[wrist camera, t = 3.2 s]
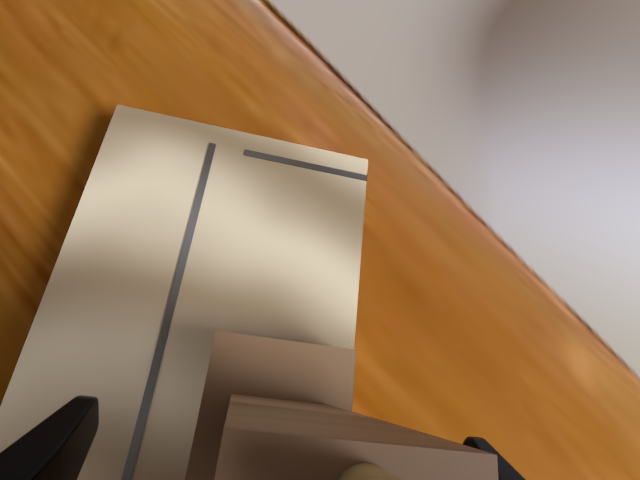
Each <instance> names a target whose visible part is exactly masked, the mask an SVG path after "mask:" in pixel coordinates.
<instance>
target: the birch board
mask: <svg viewBox="0 0 640 480" xmlns="http://www.w3.org/2000/svg"><path fill="white" fill-rule="evenodd" d="M367 168H368V160H367V159H363V158H358V157H354V156H349V155H345V154H340V153H336V152H331V151H327V150H322V149H317V148H313V147H308V146H304V145H299V144H295V143H290V142H286V141H281V140H277V139H272V138H268V137H263V136H259V135H254V134H249V133H245V132H240V131H236V130H231V129H227V128H222V127H218V126H213V125H209V124H204V123H200V122H195V121H191V120H186V119H182V118H177V117H172V116H168V115H163V114H159V113H154V112H150V111H145V110H141V109H136V108H132V107H127V106H123V105H118V104H117V106H116V109H115V111H114V114H113V116H112V119H111V122H110V124H109V127H108V129H107V132H106V135H105V137H104V140H103V142H102V145H101V147H100V150H99V153H98V155H97V158H96V160H95V163H94V166H93V168H92V171H91V173H90V176H89V178H88V181H87V184H86V186H85V189H84V191H83V194H82V197H81V199H80V202H79V204H78V207H77V209H76V212H75V215H74V217H73V220H72V222H71V225H70V227H69V230H68V233H67V235H66V238H65V240H64V243H63V246H62V248H61V251H60V253H59V256H58V258H57V261H56V264H55V266H54V269H53V271H52V274H51V277H50V279H49V282H48V284H47V287H46V289H45V292H44V295H43V297H42V300H41V302H40V305H39V308H38V310H37V313H36V315H35V318H34V320H33V323H32V326H31V328H30V331H29V333H28V336H27V339H26V341H25V344H24V346H23V349H22V351H21V354H20V357H19V359H18V362H17V364H16V367H15V370H14V372H13V375H12V377H11V380H10V382H9V385H8V388H7V390H6V393H5V395H4V398H3V400H2V403H1V406H0V452H2V451H3V450H4V449H6V448H7V447H8V446H10V445H11V444H13V443H14V442H15V441H17V440H18V439H19V438H21V437H22V436H23V435H25V434H26V433H27V432H29V431H30V430H31V429H33V428H34V427H35V426H37V425H38V424H39V423H41V422H42V421H43V420H45V419H46V418H47V417H49V416H50V415H51V414H53V413H54V412H55V411H57V410H58V409H60V408H61V407H62V406H64V405H65V404H66V403H68V402H69V401H70V400H72V399H73V398H74V397H76V396H79V395H84V396H93V397H97V398H98V402H99V425H98V429H97V432H96V435H95V437H94V440H93V442H92V445H91V447H90V449H89V452H88V454H87V457H86V459H85V461H84V464H83V466H82V469H81V471H80V473H79V476H78V478H77V480H185V476H186V471H187V467H188V462H189V457H190V452H191V447H192V443H193V438H194V433H195V428H196V424H197V419H198V414H199V409H200V404H201V400H202V395H203V390H204V385H205V380H206V376H207V371H208V366H209V361H210V356H211V352H212V347H213V342H214V337H215V332H216V331H223V332H230V333H237V334H244V335H252V336H259V337H266V338H274V339H281V340H288V341H296V342H303V343H310V344H317V345H325V346H332V347H339V348H347V349H354V341H355V328H356V315H357V301H358V288H359V274H360V261H361V248H362V234H363V221H364V208H365V194H366V181H367Z"/></svg>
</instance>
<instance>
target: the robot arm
mask: <svg viewBox="0 0 640 480" xmlns="http://www.w3.org/2000/svg"><path fill="white" fill-rule="evenodd" d="M98 425H99V402H98V398H97V397H93V396H84V395H79V396H76V397H74V398H73V399H72V400H70V401H69V402H68V403H66V404H65V405H64V406H62V407H61V408H60V409H58V410H57V411H55V412H54V413H53V414H51V415H50V416H49V417H47V418H46V419H45V420H43V421H42V422H41V423H39V424H38V425H37V426H35V427H34V428H33V429H31V430H30V431H29V432H27V433H26V434H25V435H23V436H22V437H21V438H19V439H18V440H17V441H15V442H14V443H13V444H11V445H10V446H8V447H7V448H6V449H4V450H3V451H2V452H0V480H77V478H78V476H79V473H80V471H81V469H82V466H83V464H84V461H85V459H86V457H87V454H88V452H89V449H90V447H91V445H92V442H93V440H94V437H95V435H96V432H97V429H98ZM462 445H466V446H469V447H472V448H476V449H479V450H483V451H486V452H489V453H493V454H496V455H497V462H498V480H525V479H524V478H523V477H522V476H521V475H520V474H519V473H518V472H517V471H516V470H515V469H514V468H513V467H512V466H511V465H510V464H509V463H508V462H507V461H506V460H505V459H504V458H503V457H502V456H501V455H500V454H499V453H498V452H497V451H496V450H495V449H494V448H493V447H492V446H491V445H490V444H489V443H488V442H487V441H486V440H485V439H483V438H480V437H467V438H466V439H465V440H464V442H463V444H462Z"/></svg>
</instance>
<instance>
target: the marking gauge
mask: <svg viewBox="0 0 640 480" xmlns="http://www.w3.org/2000/svg"><path fill="white" fill-rule="evenodd" d="M355 360H356V350H354V349H347V348H339V347H332V346H325V345H317V344H310V343H303V342H296V341H288V340H281V339H274V338H266V337H259V336H252V335H244V334H237V333H230V332H223V331H216V332H215V337H214V342H213V347H212V352H211V356H210V361H209V366H208V371H207V376H206V380H205V385H204V390H203V395H202V400H201V404H200V409H199V414H198V419H197V424H196V428H195V433H194V438H193V443H192V447H191V452H190V457H189V462H188V467H187V471H186V476H185V480H498V462H497V455H496V454H493V453H489V452H486V451H483V450H479V449H476V448H472V447H469V446H466V445H462V444H459V443H456V442H452V441H449V440H446V439H442V438H439V437H435V436H432V435H429V434H425V433H422V432H419V431H415V430H412V429H409V428H405V427H402V426H399V425H395V424H392V423H388V422H385V421H382V420H378V419H375V418H372V417H368V416H365V415H362V414H358V413H355V412H352V401H353V388H354V374H355Z"/></svg>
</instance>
